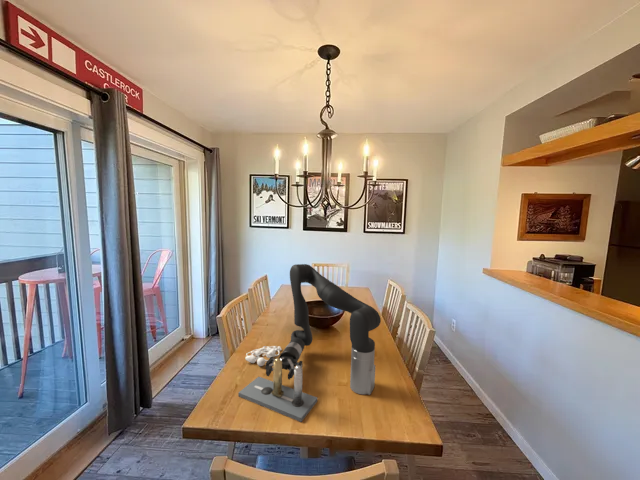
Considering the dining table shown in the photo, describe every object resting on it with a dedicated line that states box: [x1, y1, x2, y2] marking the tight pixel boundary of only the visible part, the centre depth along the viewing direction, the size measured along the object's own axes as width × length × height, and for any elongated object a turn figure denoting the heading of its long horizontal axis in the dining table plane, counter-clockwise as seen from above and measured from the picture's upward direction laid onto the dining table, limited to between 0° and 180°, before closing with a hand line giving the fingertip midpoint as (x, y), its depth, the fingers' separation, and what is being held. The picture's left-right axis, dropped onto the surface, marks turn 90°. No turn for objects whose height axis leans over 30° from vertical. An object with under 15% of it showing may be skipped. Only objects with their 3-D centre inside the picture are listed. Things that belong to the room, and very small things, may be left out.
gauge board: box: [237, 376, 319, 423], centre depth 108 cm, size 28×12×2 cm, turn 63°
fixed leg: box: [293, 365, 303, 405], centre depth 103 cm, size 3×3×14 cm
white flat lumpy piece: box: [244, 345, 282, 367], centre depth 139 cm, size 19×14×4 cm
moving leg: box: [271, 357, 284, 397], centre depth 107 cm, size 4×3×14 cm
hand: (278, 375), depth 107 cm, fingers open, 8 cm apart
